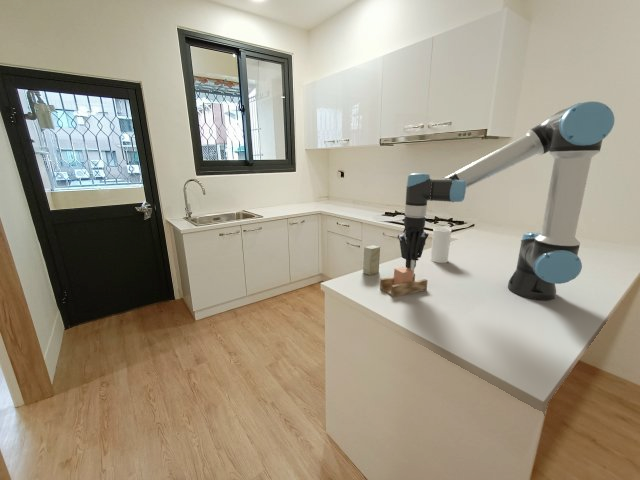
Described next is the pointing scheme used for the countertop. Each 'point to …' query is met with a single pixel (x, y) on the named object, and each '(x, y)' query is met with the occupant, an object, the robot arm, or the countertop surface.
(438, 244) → the cup
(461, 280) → the countertop surface
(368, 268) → the skincare box
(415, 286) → the chute
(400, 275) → the block
